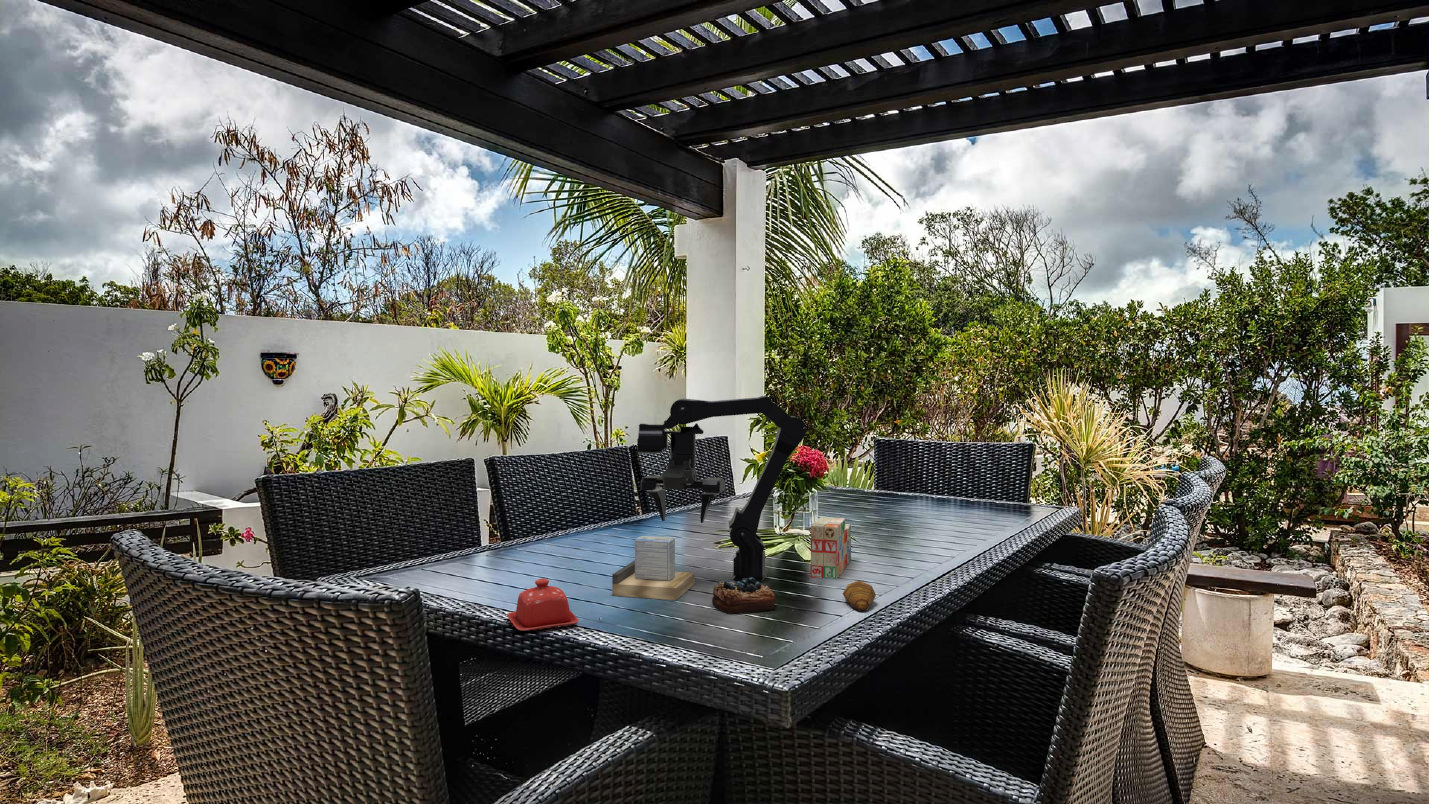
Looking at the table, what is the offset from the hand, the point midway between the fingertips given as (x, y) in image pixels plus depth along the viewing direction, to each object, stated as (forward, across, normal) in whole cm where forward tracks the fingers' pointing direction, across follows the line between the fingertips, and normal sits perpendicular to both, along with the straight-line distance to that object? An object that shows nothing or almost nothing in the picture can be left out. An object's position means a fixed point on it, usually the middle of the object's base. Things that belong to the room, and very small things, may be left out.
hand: (682, 521), depth 184 cm
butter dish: (+14, -15, -39) cm, 44 cm away
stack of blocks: (+13, +32, +20) cm, 40 cm away
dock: (+13, -3, -11) cm, 17 cm away
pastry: (+14, +18, -18) cm, 29 cm away
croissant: (+14, +41, -10) cm, 44 cm away
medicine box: (+11, -3, -11) cm, 16 cm away
